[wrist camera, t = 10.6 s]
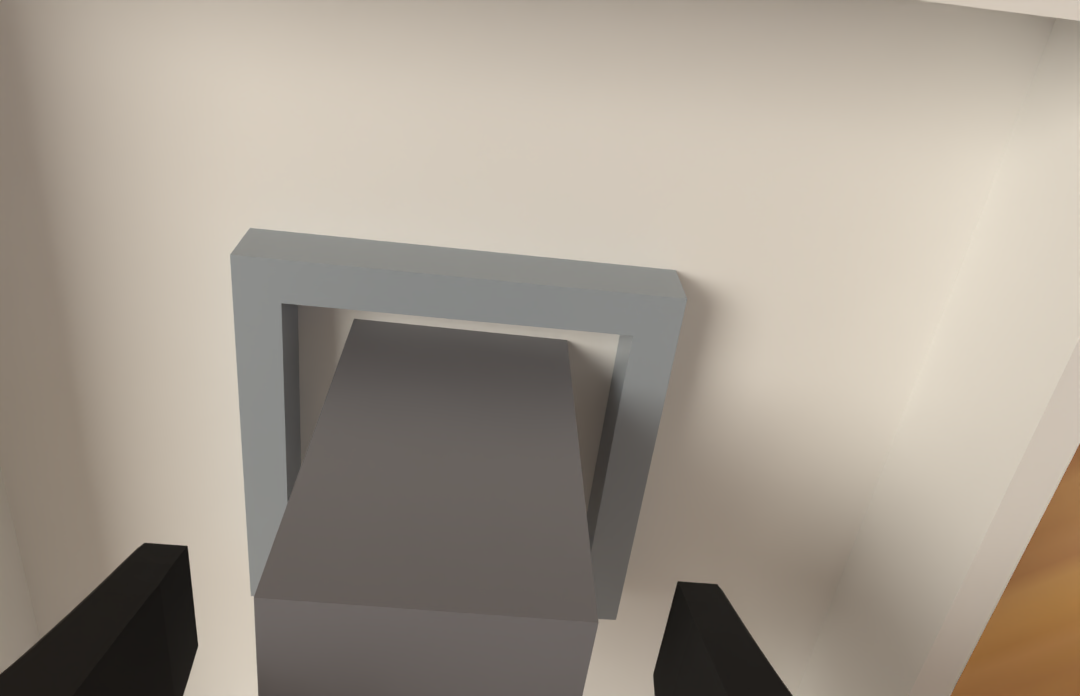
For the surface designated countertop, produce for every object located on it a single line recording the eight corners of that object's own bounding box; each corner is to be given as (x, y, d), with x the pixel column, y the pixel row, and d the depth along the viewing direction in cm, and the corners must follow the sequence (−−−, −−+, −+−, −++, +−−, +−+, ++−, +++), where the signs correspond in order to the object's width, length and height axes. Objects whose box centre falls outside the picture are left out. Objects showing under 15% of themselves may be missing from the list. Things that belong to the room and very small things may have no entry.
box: (1112, -51, 14) (1319, -24, 10) (794, 746, 23) (843, 903, 20) (-194, -227, 12) (-483, -267, 9) (35, 704, 22) (-58, 867, 18)
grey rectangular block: (567, 340, 16) (598, 622, 10) (540, 504, 18) (553, 827, 12) (354, 318, 16) (253, 598, 10) (349, 488, 18) (263, 811, 12)
